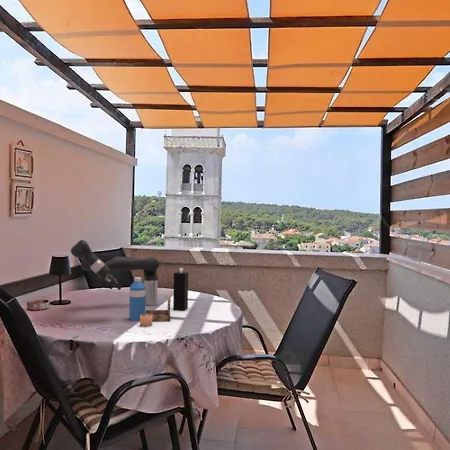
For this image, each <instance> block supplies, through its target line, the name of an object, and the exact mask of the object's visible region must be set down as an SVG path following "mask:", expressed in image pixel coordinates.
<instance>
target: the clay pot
mask: <svg viewBox="0 0 450 450" xmlns="http://www.w3.org/2000/svg"><path fill="white" fill-rule="evenodd" d="M142 326H144V328H149V327H152V326H153V322H152V314H148V313H146V312H145V314H140V320H139V327H142ZM148 326H149V327H148Z"/></svg>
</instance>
